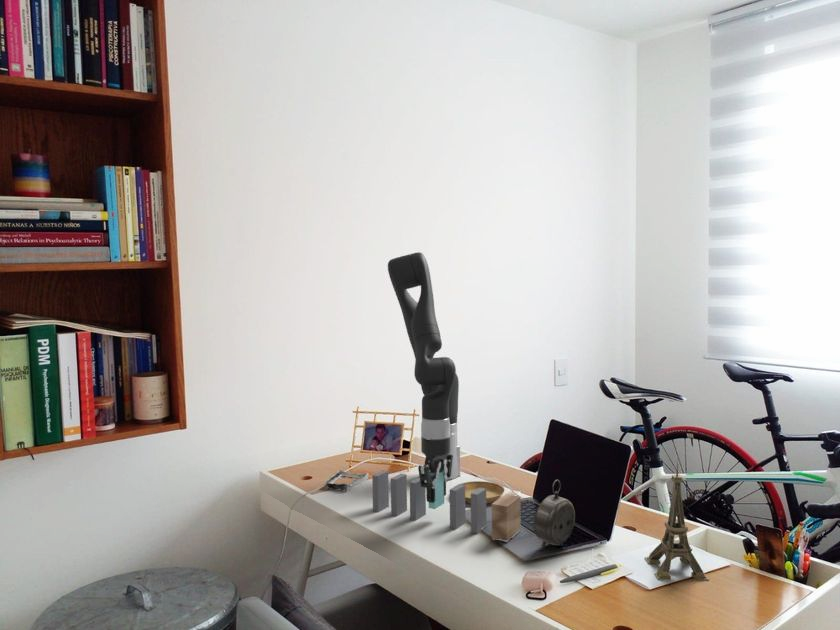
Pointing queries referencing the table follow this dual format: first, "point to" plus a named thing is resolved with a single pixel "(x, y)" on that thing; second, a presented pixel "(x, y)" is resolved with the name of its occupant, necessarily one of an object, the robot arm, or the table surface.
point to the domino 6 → (478, 510)
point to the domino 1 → (380, 491)
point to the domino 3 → (417, 499)
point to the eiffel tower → (675, 546)
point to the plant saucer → (492, 489)
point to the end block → (506, 517)
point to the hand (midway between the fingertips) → (436, 498)
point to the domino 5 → (457, 506)
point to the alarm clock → (554, 519)
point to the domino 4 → (438, 491)
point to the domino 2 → (398, 494)
